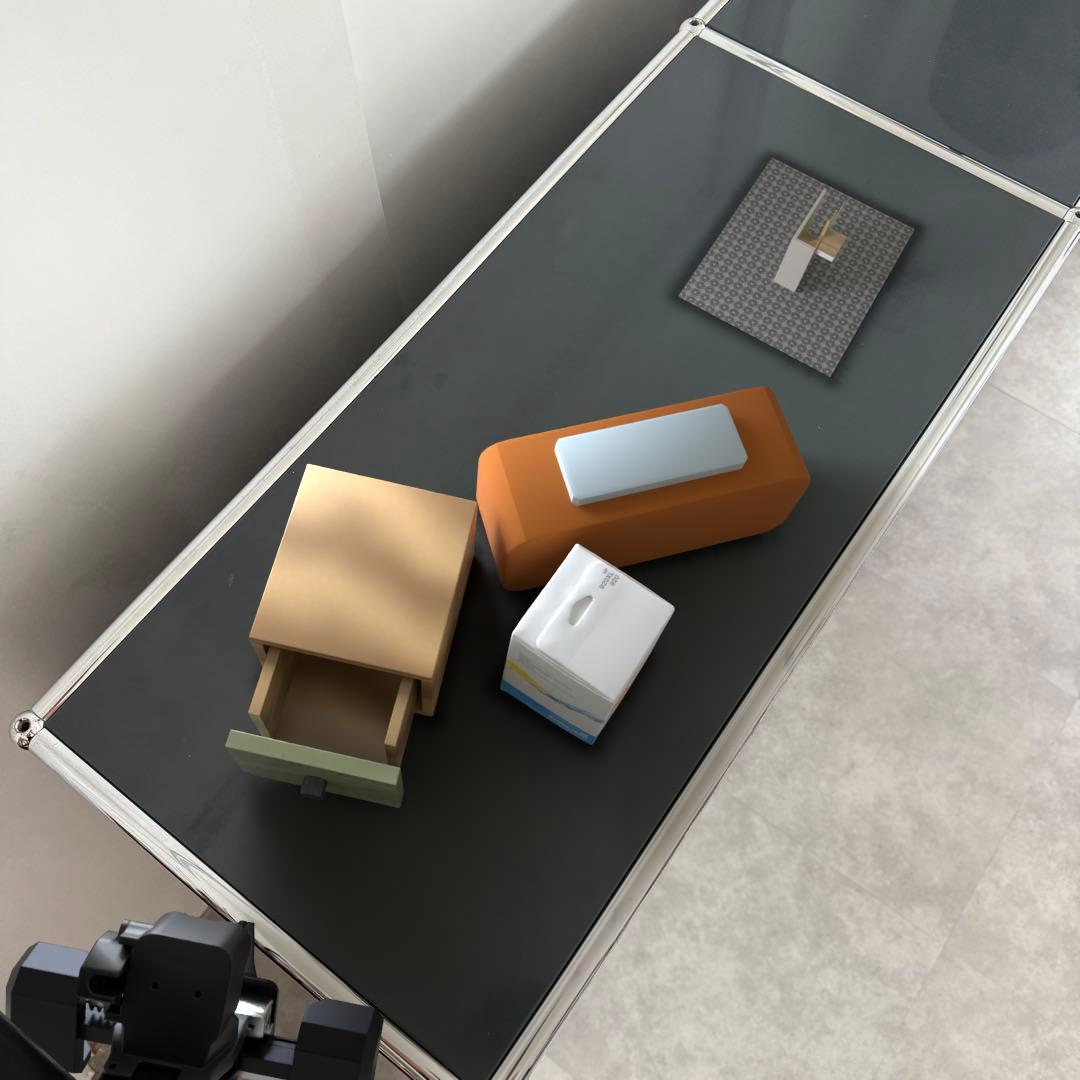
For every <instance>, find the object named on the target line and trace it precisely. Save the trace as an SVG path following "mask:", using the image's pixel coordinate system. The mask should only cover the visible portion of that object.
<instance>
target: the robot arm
mask: <svg viewBox="0 0 1080 1080" xmlns="http://www.w3.org/2000/svg"><path fill="white" fill-rule="evenodd" d="M255 926H256V925H255V922H254V921H247V920H243V919H241V920H239V921H238V922H232V921H228V920H227V921H219V920H214V919H209V918H205V917H199V916H193V915H189V914H188V913H186V912H181V911H175V910H174V911H169V912H166V913H164V914H163V915H161V916H160V917H158V919H157V920H156V921H154V923H148V922H142V921H137V920H131V919H127V918H124V919H123V920H122V922H121V924H120V925H119V929H118V931H116V930H111V929H108V930H106V931H105V932H104V933H102V935H101V936H99V938H97V939H96V940H95V942H94V943H93V945H92V947H91V949H90V950H89V951H88V950H86V949H80V948H75V947H70V946H66V945H61V944H54V943H51V942H45V941H40V940H38V941H37V942H35V943H34V944H32V945H30V946H28V947H27V948H26V950H25V952H24V953H23V954H22V955H21V957H20V958H19V960H18V961H17V962H16V963H15V965H14V966H13V968H12V969H11V972H10V974H9V977H8V980H7V983H6V985H5V1011H4V1012H5V1014H4V1012H2V1011H1V1010H0V1080H77V1078H76V1077H75V1076H73V1075H72V1074H82V1073H83V1072H84V1070H85V1068H86V1067H87V1065H88V1064H89V1062H90V1060H91V1058H92V1050H93V1049H92V1047H91V1044H90V1043H89V1042H91V1043H96V1044H102V1045H107V1046H110V1053H109V1055H108V1058H107V1059H106V1060H105V1063H104V1064H103V1070H102V1072H101V1073H100V1076H99V1077H98V1079H97V1080H239V1079H242V1080H375V1077H376V1071H377V1070H376V1069H377V1064H378V1057H379V1052H380V1046H381V1041H382V1040H381V1039H382V1034H383V1028H384V1022H385V1017H384V1016H383V1015H382V1014H381V1012H380V1011H378V1009H377V1008H376V1007H374V1006H370V1005H369V1006H368V1005H365V1004H359V1003H354V1002H349V1001H345V1000H344V1001H343V1000H339V999H334V998H329V997H325V998H322V999H321V1000H318V1001H315V1002H313V1003H310V1004H308V1005H307V1006H306V1007H305V1011H304V1014H303V1016H302V1019H301V1022H300V1025H299V1030H298V1033H297V1037H296V1039H295V1038H289V1037H284V1036H280V1035H275V1032H276V1023H277V1015H278V1007H279V1006H278V1005H279V998H280V989H279V986H278V985H277V983H276V982H275V981H274V980H271V979H268V978H263V977H258V974H257V969H256V964H255V939H256V938H255V932H256V930H255Z"/></svg>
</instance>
